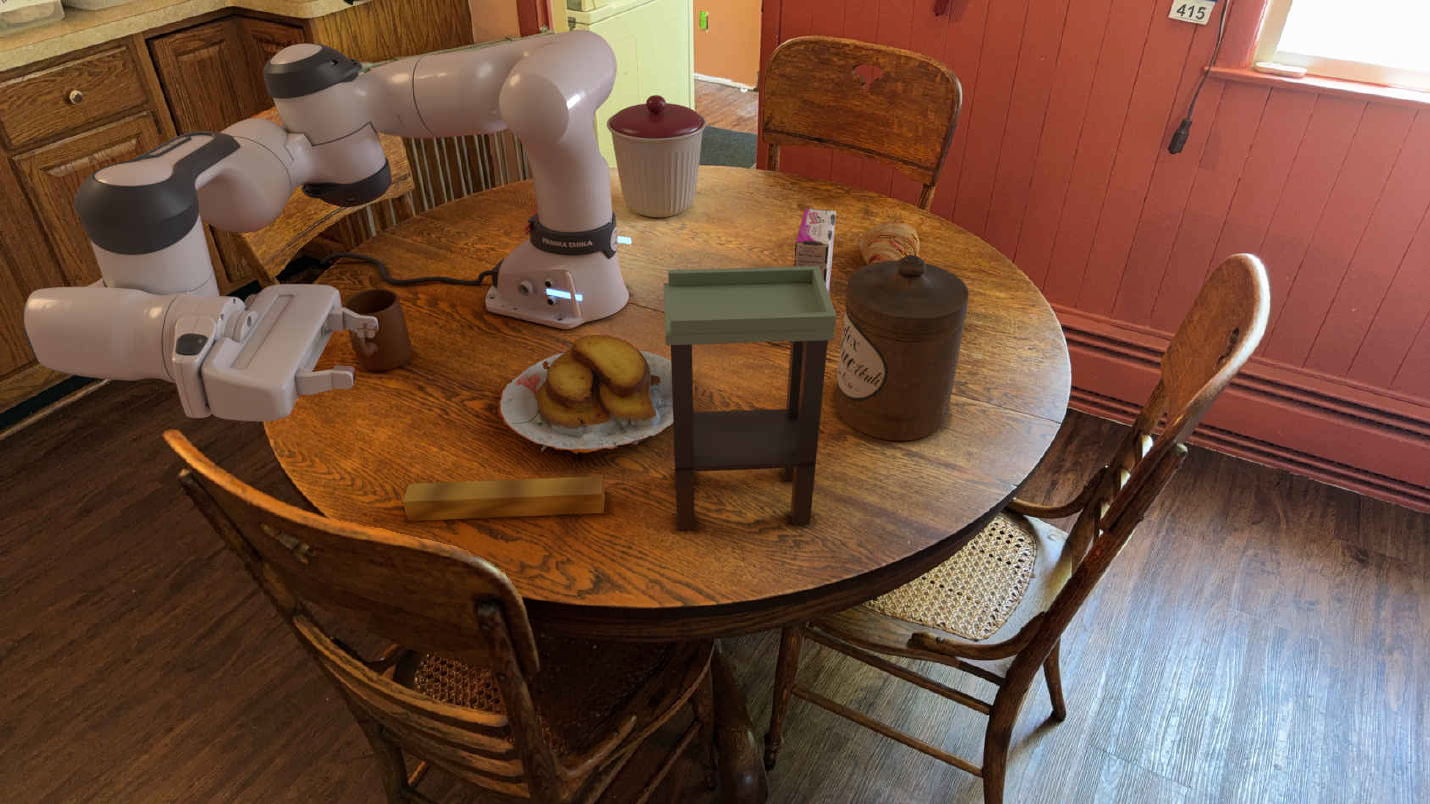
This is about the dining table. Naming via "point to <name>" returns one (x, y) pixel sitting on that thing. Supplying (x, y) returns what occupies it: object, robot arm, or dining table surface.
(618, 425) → the food on plate
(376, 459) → the dining table surface
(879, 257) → the croissant
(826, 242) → the candy bar box
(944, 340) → the wooden container
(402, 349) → the mug
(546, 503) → the batten
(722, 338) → the stand
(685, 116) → the canister
